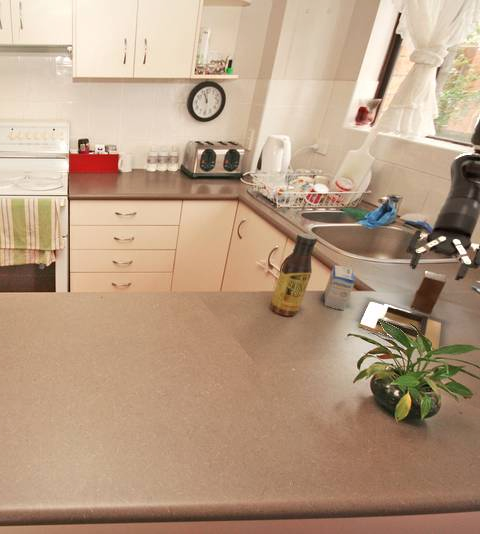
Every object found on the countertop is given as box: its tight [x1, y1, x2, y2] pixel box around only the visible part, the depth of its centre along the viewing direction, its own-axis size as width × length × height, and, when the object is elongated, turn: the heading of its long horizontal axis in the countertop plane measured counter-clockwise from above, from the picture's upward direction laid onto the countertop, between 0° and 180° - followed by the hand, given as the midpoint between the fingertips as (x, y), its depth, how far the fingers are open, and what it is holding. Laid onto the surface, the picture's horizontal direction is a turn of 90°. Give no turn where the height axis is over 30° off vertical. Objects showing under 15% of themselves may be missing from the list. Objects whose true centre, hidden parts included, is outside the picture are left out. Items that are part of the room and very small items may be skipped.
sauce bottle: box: [270, 232, 318, 317], centre depth 91 cm, size 7×6×20 cm
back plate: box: [358, 301, 442, 350], centre depth 90 cm, size 14×14×2 cm
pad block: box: [410, 270, 447, 315], centre depth 97 cm, size 4×5×9 cm
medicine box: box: [323, 264, 356, 311], centre depth 98 cm, size 8×4×9 cm, turn 150°
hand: (435, 273), depth 97 cm, fingers open, 8 cm apart
